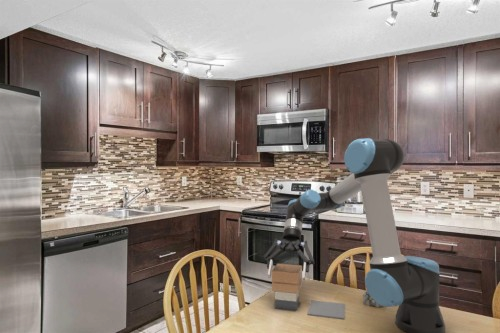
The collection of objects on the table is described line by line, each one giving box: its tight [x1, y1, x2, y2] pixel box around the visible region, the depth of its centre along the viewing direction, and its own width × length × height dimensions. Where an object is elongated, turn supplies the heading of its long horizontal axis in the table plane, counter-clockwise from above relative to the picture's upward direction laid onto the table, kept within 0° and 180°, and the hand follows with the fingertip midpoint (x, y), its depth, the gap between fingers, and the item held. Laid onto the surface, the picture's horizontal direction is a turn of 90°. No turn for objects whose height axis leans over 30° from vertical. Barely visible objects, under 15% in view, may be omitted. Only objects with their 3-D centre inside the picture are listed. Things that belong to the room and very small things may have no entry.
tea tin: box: [274, 291, 300, 312], centre depth 136 cm, size 8×8×10 cm
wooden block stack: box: [271, 263, 303, 294], centre depth 136 cm, size 10×10×8 cm
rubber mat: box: [307, 299, 346, 320], centre depth 132 cm, size 13×13×1 cm
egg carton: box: [362, 289, 383, 308], centre depth 139 cm, size 11×8×4 cm
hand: (286, 277), depth 136 cm, fingers open, 13 cm apart
